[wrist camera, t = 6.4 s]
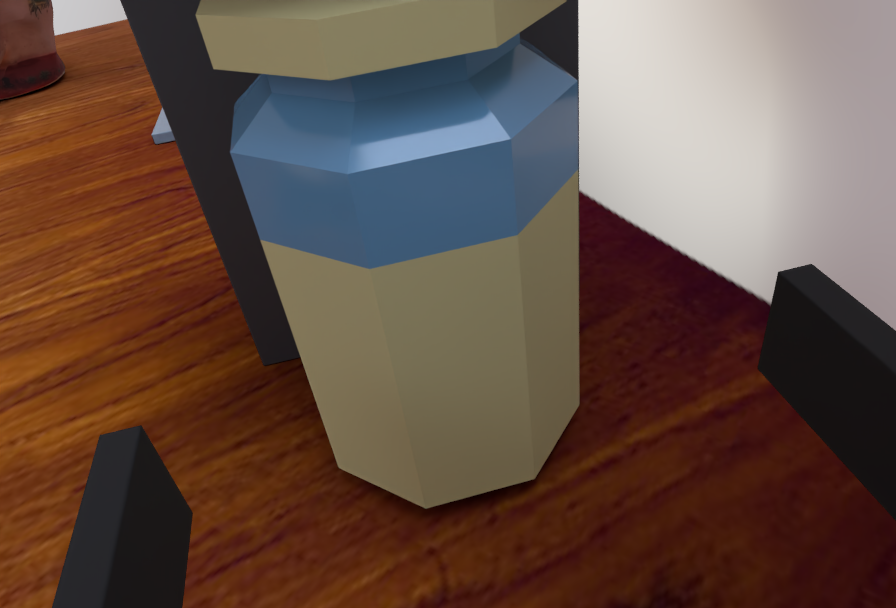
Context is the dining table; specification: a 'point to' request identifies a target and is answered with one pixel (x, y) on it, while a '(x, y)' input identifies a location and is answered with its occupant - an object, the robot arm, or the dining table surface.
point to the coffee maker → (210, 131)
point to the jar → (415, 226)
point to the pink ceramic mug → (27, 47)
